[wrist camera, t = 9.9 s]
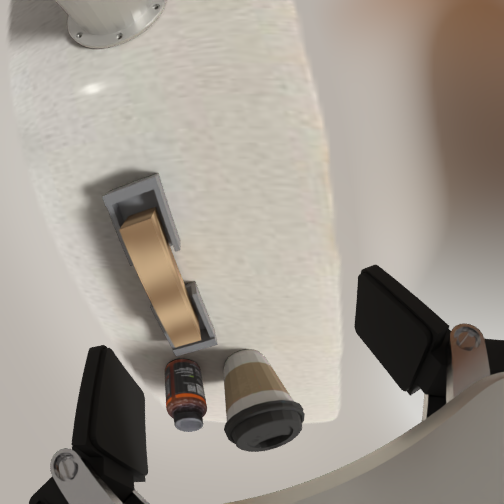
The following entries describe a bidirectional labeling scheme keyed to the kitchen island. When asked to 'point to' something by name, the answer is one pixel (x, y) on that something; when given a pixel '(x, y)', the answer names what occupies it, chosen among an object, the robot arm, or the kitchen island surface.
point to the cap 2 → (204, 324)
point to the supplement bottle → (185, 394)
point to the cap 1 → (141, 207)
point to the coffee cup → (258, 404)
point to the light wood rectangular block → (160, 276)
